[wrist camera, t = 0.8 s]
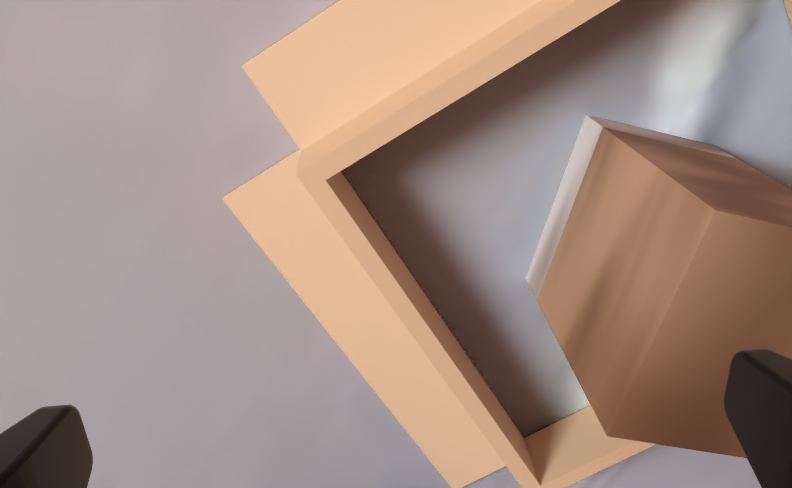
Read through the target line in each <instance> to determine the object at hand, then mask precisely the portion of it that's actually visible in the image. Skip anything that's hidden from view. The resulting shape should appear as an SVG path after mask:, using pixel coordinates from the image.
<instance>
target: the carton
mask: <svg viewBox="0 0 792 488" xmlns="http://www.w3.org/2000/svg"><path fill="white" fill-rule="evenodd" d="M619 1H620V0H339V1H338V2H336V3H335V4H333V5H332V6H330V7H329V8H327V9H326V10H324V11H323V12H321V13H320V14H318V15H317V16H315V17H314V18H312V19H311V20H309V21H308V22H306V23H305V24H303V25H302V26H300V27H299V28H297V29H296V30H294V31H293V32H291V33H290V34H288V35H287V36H285V37H284V38H282V39H281V40H279V41H278V42H276V43H275V44H273V45H272V46H270V47H269V48H267V49H266V50H264V51H263V52H261V53H260V54H258V55H257V56H255V57H254V58H252V59H251V60H249V61H248V62H246V63H245V64H243V65H242V68H243V69H244V71H245V72H246V73H247V75H248V76H249V78H250V79H251V80H252V82H253V83H254V85H255V86H256V88H257V89H258V90H259V92H260V93H261V95H262V96H263V97H264V99H265V100H266V102H267V103H268V105H269V106H270V107H271V109H272V110H273V112H274V113H275V114H276V116H277V117H278V119H279V120H280V122H281V123H282V124H283V126H284V127H285V129H286V130H287V131H288V133H289V134H290V136H291V137H292V139H293V140H294V141H295V143H296V144H297V146H298V147H299V150H298V151H296V152H294V153H293V154H291V155H290V156H288V157H286V158H285V159H283V160H282V161H280V162H278V163H277V164H275V165H274V166H272V167H270V168H269V169H267V170H266V171H264V172H262V173H261V174H259V175H258V176H256V177H254V178H253V179H251V180H250V181H248V182H246V183H245V184H243V185H242V186H240V187H238V188H237V189H235V190H234V191H232V192H230V193H229V194H227V195H226V196H224V198H223V201H224V202H225V203H226V204H227V206H228V207H229V208H230V210H231V211H232V212H233V213H234V215H235V216H236V217H237V218H238V220H239V221H240V222H241V223H242V225H243V226H244V227H245V228H246V230H247V231H248V232H249V233H250V235H251V236H252V237H253V238H254V240H255V241H256V242H257V244H258V245H259V246H260V247H261V249H262V250H263V251H264V252H265V254H266V255H267V256H268V257H269V259H270V260H271V261H272V262H273V264H274V265H275V266H276V267H277V269H278V270H279V271H280V273H281V274H282V275H283V276H284V278H285V279H286V280H287V281H288V283H289V284H290V285H291V286H292V288H293V289H294V290H295V291H296V293H297V294H298V295H299V296H300V298H301V299H302V300H303V301H304V303H305V304H306V305H307V307H308V308H309V309H310V310H311V312H312V313H313V314H314V315H315V317H316V318H317V319H318V320H319V322H320V323H321V324H322V325H323V327H324V328H325V329H326V330H327V332H328V333H329V334H330V336H331V337H332V338H333V339H334V341H335V342H336V343H337V344H338V346H339V347H340V348H341V349H342V351H343V352H344V353H345V354H346V356H347V357H348V358H349V359H350V361H351V362H352V363H353V365H354V366H355V367H356V368H357V370H358V371H359V372H360V373H361V375H362V376H363V377H364V378H365V380H366V381H367V382H368V383H369V385H370V386H371V387H372V388H373V390H374V391H375V392H376V393H377V395H378V396H379V397H380V399H381V400H382V401H383V402H384V404H385V405H386V406H387V407H388V409H389V410H390V411H391V412H392V414H393V415H394V416H395V417H396V419H397V420H398V421H399V422H400V424H401V425H402V426H403V428H404V429H405V430H406V431H407V433H408V434H409V435H410V436H411V438H412V439H413V440H414V441H415V443H416V444H417V445H418V446H419V448H420V449H421V450H422V451H423V453H424V454H425V455H426V457H427V458H428V459H429V460H430V462H431V463H432V464H433V465H434V467H435V468H436V469H437V470H438V472H439V473H440V474H441V475H442V477H443V478H444V479H445V480H446V482H447V483H448V484H449V485H450V487H451V488H462V487H464V486H466V485H468V484H470V483H472V482H474V481H476V480H478V479H480V478H482V477H484V476H486V475H488V474H491V473H493V472H495V471H497V470H499V469H501V468H503V467H505V466H507V468H508V469H509V470H510V472H511V473H512V475H513V476H514V477H515V479H516V480H517V482H518V483H519V484H520V486H521V487H522V488H565V487H567V486H569V485H571V484H574V483H576V482H578V481H580V480H582V479H584V478H586V477H588V476H590V475H593V474H595V473H597V472H599V471H601V470H603V469H605V468H607V467H609V466H612V465H614V464H616V463H618V462H620V461H622V460H624V459H626V458H628V457H631V456H633V455H635V454H637V453H639V452H641V451H643V450H645V449H647V448H650V447H652V446H654V445H656V444H653V443H647V442H640V441H634V440H627V439H621V438H614V437H608V436H607V435H606V433H605V431H604V429H603V428H602V426H601V424H600V422H599V420H598V418H597V416H596V414H595V412H594V410H593V408H592V406H591V405H590V406H588V407H586V408H584V409H582V410H580V411H578V412H576V413H574V414H572V415H570V416H568V417H566V418H564V419H562V420H560V421H558V422H556V423H554V424H552V425H550V426H548V427H546V428H544V429H542V430H540V431H537V432H535V433H533V434H531V435H529V436H527V437H525V438H523V436H522V435H521V433H520V432H519V430H518V429H517V428H516V426H515V425H514V423H513V422H512V420H511V419H510V417H509V416H508V414H507V413H506V411H505V410H504V409H503V407H502V406H501V404H500V403H499V401H498V400H497V398H496V397H495V395H494V394H493V393H492V391H491V390H490V388H489V387H488V385H487V384H486V382H485V381H484V379H483V378H482V377H481V375H480V374H479V372H478V371H477V369H476V368H475V366H474V365H473V363H472V362H471V361H470V359H469V358H468V356H467V355H466V353H465V352H464V350H463V349H462V347H461V346H460V344H459V343H458V342H457V340H456V339H455V337H454V336H453V334H452V333H451V331H450V330H449V328H448V327H447V326H446V324H445V323H444V321H443V320H442V318H441V317H440V315H439V314H438V312H437V311H436V310H435V308H434V307H433V305H432V304H431V302H430V301H429V299H428V298H427V296H426V295H425V293H424V292H423V291H422V289H421V288H420V286H419V285H418V283H417V282H416V280H415V279H414V277H413V276H412V275H411V273H410V272H409V270H408V269H407V267H406V266H405V264H404V263H403V261H402V260H401V259H400V257H399V256H398V254H397V253H396V251H395V250H394V248H393V247H392V245H391V244H390V243H389V241H388V240H387V238H386V237H385V235H384V234H383V232H382V231H381V229H380V228H379V226H378V225H377V224H376V222H375V221H374V219H373V218H372V216H371V215H370V213H369V212H368V210H367V209H366V208H365V206H364V205H363V203H362V202H361V200H360V199H359V197H358V196H357V194H356V193H355V192H354V190H353V189H352V187H351V186H350V184H349V183H348V181H347V180H346V178H345V177H344V175H343V174H342V173H341V171H342V170H343V169H345V168H347V167H348V166H350V165H352V164H353V163H355V162H356V161H358V160H360V159H361V158H363V157H365V156H366V155H368V154H370V153H371V152H373V151H374V150H376V149H378V148H379V147H381V146H383V145H384V144H386V143H388V142H389V141H391V140H392V139H394V138H396V137H397V136H399V135H401V134H402V133H404V132H406V131H407V130H409V129H411V128H412V127H414V126H415V125H417V124H419V123H420V122H422V121H424V120H425V119H427V118H429V117H430V116H432V115H433V114H435V113H437V112H438V111H440V110H442V109H443V108H445V107H447V106H448V105H450V104H451V103H453V102H455V101H456V100H458V99H460V98H461V97H463V96H465V95H466V94H468V93H470V92H471V91H473V90H474V89H476V88H478V87H479V86H481V85H483V84H484V83H486V82H488V81H489V80H491V79H492V78H494V77H496V76H497V75H499V74H501V73H502V72H504V71H506V70H507V69H509V68H510V67H512V66H514V65H515V64H517V63H519V62H520V61H522V60H524V59H525V58H527V57H529V56H530V55H532V54H533V53H535V52H537V51H538V50H540V49H542V48H543V47H545V46H547V45H548V44H550V43H551V42H553V41H555V40H556V39H558V38H560V37H561V36H563V35H565V34H566V33H568V32H569V31H571V30H573V29H574V28H576V27H578V26H579V25H581V24H583V23H584V22H586V21H588V20H589V19H591V18H592V17H594V16H596V15H597V14H599V13H601V12H602V11H604V10H606V9H607V8H609V7H610V6H612V5H614V4H615V3H617V2H619ZM783 1H784V4H785V7H786V10H787V13H788V17H789V20H790V23H791V26H792V0H783Z"/></svg>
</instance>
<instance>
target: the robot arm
mask: <svg viewBox="0 0 792 488" xmlns="http://www.w3.org/2000/svg"><path fill="white" fill-rule="evenodd" d="M724 410H725V413H726V416H727V419H728V421H729V423H730V425H731V427H732V429H733V431H734V433H735V435H736V437H737V439H738V441H739V443H740V445H741V447H742V449H743V451H744V453H745V455H746V457H747V459H748V461H749V463H750V465H751V467H752V469H753V471H754V473H755V475H756V477H757V479H758V481H759V483H760V485H761V487H762V488H792V359H790V358H788V357H785V356H783V355H781V354H778V353H776V352H773V351H771V350H768V349H754V350H742V351H738V352H737V353H735V354H734V356H733V357H732V360H731V363H730V368H729V373H728V379H727V384H726V389H725V394H724ZM92 464H93V457H92V451H91V447H90V444H89V441H88V438H87V435H86V432H85V429H84V425H83V422H82V419H81V416H80V414H79V411H78V410H77V409H76V407H74V406H72V405H60V406H47V407H42V408H40V409H38V410H36V411H35V412H33V413H32V414H30V415H29V416H27V417H26V418H24V419H22V420H21V421H19V422H18V423H16V424H15V425H13V426H12V427H10V428H9V429H7V430H6V431H4V432H3V433H1V434H0V488H87V485H88V482H89V478H90V474H91V470H92Z"/></svg>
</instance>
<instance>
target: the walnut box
mask: <svg viewBox="0 0 792 488" xmlns="http://www.w3.org/2000/svg"><path fill="white" fill-rule="evenodd" d="M526 281H527V283H528V284H529V286H530V288H531V290H532V292H533V294H534V296H535V298H536V300H537V302H538V304H539V306H540V308H541V310H542V312H543V313H544V315H545V317H546V319H547V321H548V323H549V325H550V327H551V329H552V331H553V333H554V335H555V337H556V339H557V341H558V342H559V344H560V346H561V348H562V350H563V352H564V354H565V356H566V358H567V360H568V362H569V364H570V366H571V368H572V370H573V371H574V373H575V375H576V377H577V379H578V381H579V383H580V385H581V387H582V389H583V391H584V393H585V395H586V397H587V399H588V400H589V402H590V404H591V406H592V408H593V410H594V412H595V414H596V416H597V418H598V420H599V422H600V424H601V426H602V428H603V429H604V431H605V433H606V435H607V436H608V437H614V438H621V439H627V440H634V441H640V442H647V443H653V444H660V445H666V446H673V447H679V448H686V449H692V450H698V451H705V452H711V453H718V454H724V455H731V456H737V457H744V458H747V457H746V455H745V453H744V451H743V449H742V447H741V445H740V443H739V441H738V439H737V437H736V435H735V433H734V431H733V429H732V427H731V425H730V423H729V421H728V419H727V416H726V413H725V410H724V394H725V389H726V384H727V379H728V373H729V368H730V363H731V360H732V357H733V356H734V354H735V353H737V352H738V351H742V350H754V349H768V350H771V351H773V352H776V353H778V354H781V355H783V356H785V357H788V358H790V359H792V189H790V188H789V187H787V186H785V185H783V184H781V183H780V182H778V181H776V180H774V179H773V178H771V177H769V176H767V175H765V174H764V173H762V172H760V171H758V170H757V169H755V168H753V167H751V166H749V165H748V164H746V163H744V162H742V161H741V160H739V159H737V158H735V157H733V156H732V155H730V154H728V153H726V152H725V151H723V150H721V149H719V148H717V147H716V146H714V145H710V144H706V143H702V142H698V141H694V140H689V139H685V138H681V137H677V136H673V135H668V134H664V133H660V132H656V131H652V130H648V129H643V128H639V127H635V126H631V125H627V124H622V123H618V122H614V121H610V120H606V119H601V118H597V117H593V116H589V115H586V117H585V119H584V122H583V125H582V127H581V130H580V133H579V136H578V138H577V141H576V144H575V146H574V149H573V152H572V155H571V157H570V160H569V163H568V165H567V168H566V171H565V174H564V176H563V179H562V182H561V184H560V187H559V190H558V193H557V195H556V198H555V201H554V203H553V206H552V209H551V211H550V214H549V217H548V220H547V222H546V225H545V228H544V230H543V233H542V236H541V239H540V241H539V244H538V247H537V249H536V252H535V255H534V258H533V260H532V263H531V266H530V268H529V271H528V274H527V277H526Z"/></svg>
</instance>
